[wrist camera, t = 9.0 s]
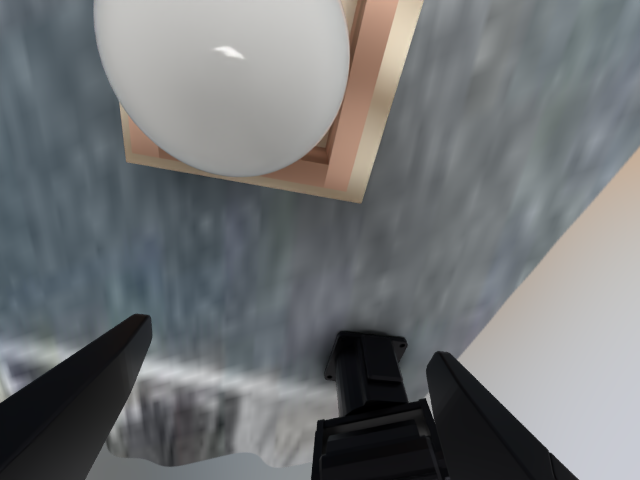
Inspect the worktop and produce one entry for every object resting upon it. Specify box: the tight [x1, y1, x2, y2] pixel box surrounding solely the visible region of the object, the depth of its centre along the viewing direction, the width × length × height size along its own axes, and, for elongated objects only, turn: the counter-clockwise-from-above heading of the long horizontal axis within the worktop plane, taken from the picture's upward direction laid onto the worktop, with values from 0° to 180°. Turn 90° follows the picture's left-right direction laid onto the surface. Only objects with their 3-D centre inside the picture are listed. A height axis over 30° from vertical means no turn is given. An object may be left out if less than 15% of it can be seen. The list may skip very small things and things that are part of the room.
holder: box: [119, 0, 424, 203], centre depth 14 cm, size 14×14×4 cm
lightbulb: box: [93, 0, 350, 177], centre depth 11 cm, size 6×6×11 cm
